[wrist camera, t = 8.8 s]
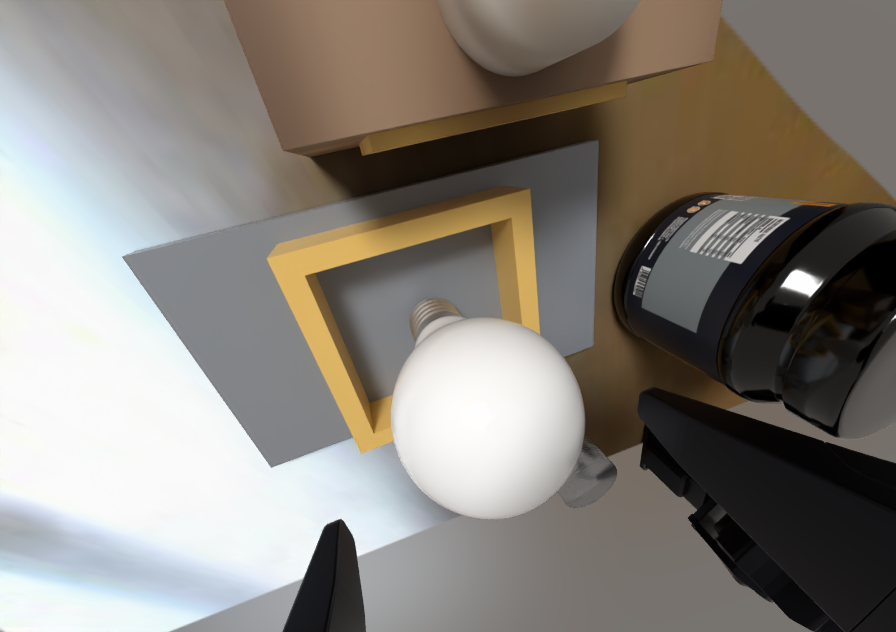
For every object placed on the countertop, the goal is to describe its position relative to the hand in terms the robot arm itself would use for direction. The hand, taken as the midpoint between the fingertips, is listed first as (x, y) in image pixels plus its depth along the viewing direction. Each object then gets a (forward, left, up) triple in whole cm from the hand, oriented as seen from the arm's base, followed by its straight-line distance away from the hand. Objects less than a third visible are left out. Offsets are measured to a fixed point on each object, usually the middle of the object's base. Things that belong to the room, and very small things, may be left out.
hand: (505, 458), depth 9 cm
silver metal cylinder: (-7, +13, -11) cm, 19 cm away
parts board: (0, 0, -11) cm, 11 cm away
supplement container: (-18, +3, -11) cm, 22 cm away
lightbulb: (0, 0, -10) cm, 10 cm away
